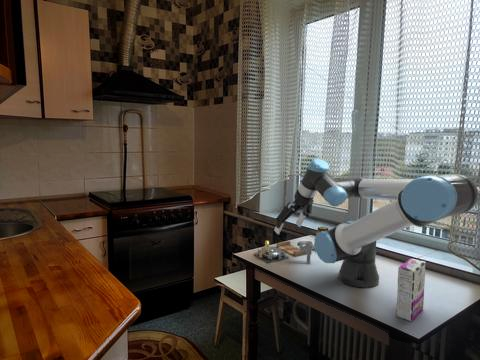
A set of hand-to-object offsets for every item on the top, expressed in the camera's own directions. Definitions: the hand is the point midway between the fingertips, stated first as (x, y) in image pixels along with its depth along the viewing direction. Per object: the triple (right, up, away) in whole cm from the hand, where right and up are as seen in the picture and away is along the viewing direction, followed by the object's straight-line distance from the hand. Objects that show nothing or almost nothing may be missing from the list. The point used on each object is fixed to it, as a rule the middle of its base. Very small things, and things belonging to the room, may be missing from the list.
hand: (287, 228), depth 147 cm
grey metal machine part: (-6, -14, +9) cm, 18 cm away
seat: (+5, -14, +17) cm, 23 cm away
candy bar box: (+33, -21, -41) cm, 57 cm away
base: (-6, -15, +9) cm, 19 cm away
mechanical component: (+10, -16, +1) cm, 19 cm away
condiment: (+21, -14, +17) cm, 31 cm away
